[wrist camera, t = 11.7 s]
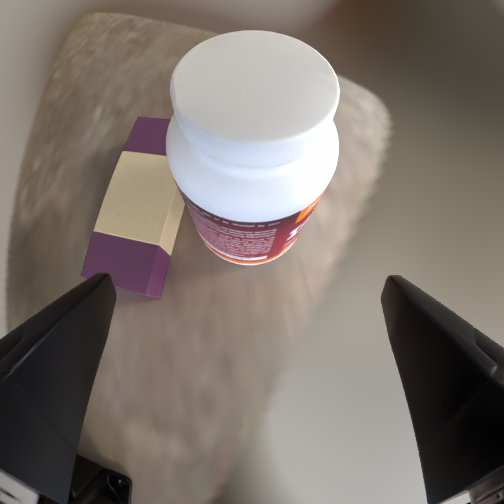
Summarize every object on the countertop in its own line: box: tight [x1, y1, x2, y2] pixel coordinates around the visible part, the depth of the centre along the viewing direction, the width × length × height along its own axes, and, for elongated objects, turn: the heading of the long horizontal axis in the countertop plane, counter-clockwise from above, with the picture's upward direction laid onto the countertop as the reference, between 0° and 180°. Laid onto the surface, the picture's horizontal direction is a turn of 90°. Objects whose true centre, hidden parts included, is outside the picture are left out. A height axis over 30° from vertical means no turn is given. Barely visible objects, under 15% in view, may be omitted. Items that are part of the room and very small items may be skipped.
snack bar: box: [81, 117, 185, 299], centre depth 17 cm, size 10×4×2 cm, turn 168°
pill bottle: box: [166, 30, 340, 265], centre depth 13 cm, size 6×6×11 cm
